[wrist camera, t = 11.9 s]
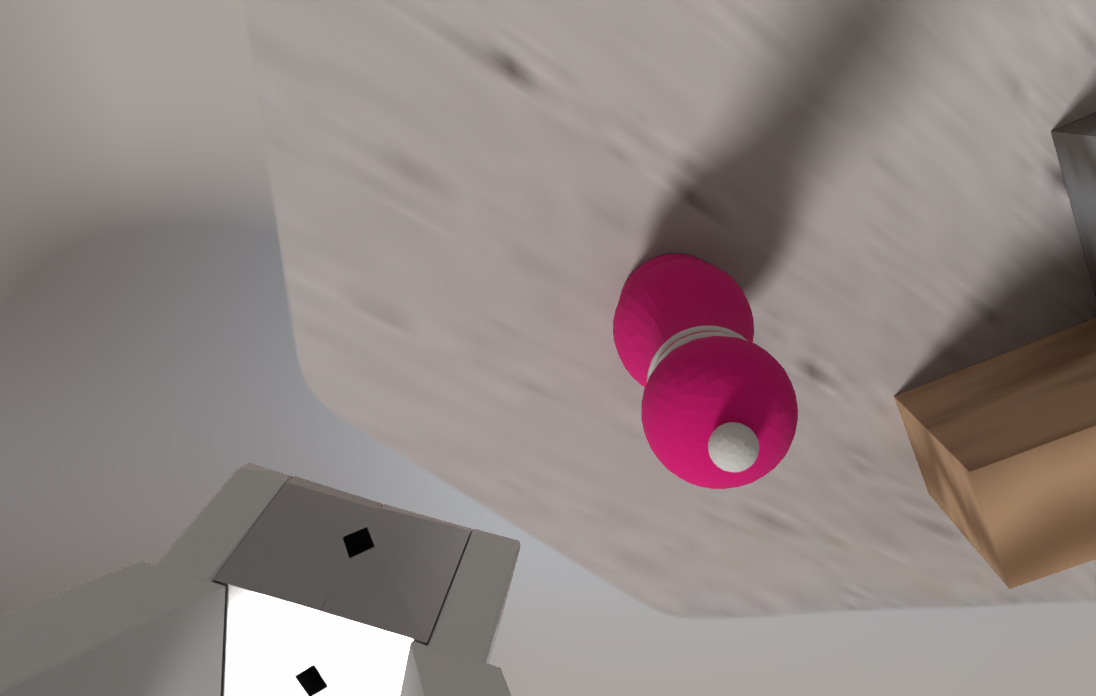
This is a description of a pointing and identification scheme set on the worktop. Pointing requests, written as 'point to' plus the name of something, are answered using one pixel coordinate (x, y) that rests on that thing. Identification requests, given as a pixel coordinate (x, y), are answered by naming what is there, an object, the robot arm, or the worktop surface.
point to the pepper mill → (703, 374)
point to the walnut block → (1015, 453)
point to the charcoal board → (1081, 180)
